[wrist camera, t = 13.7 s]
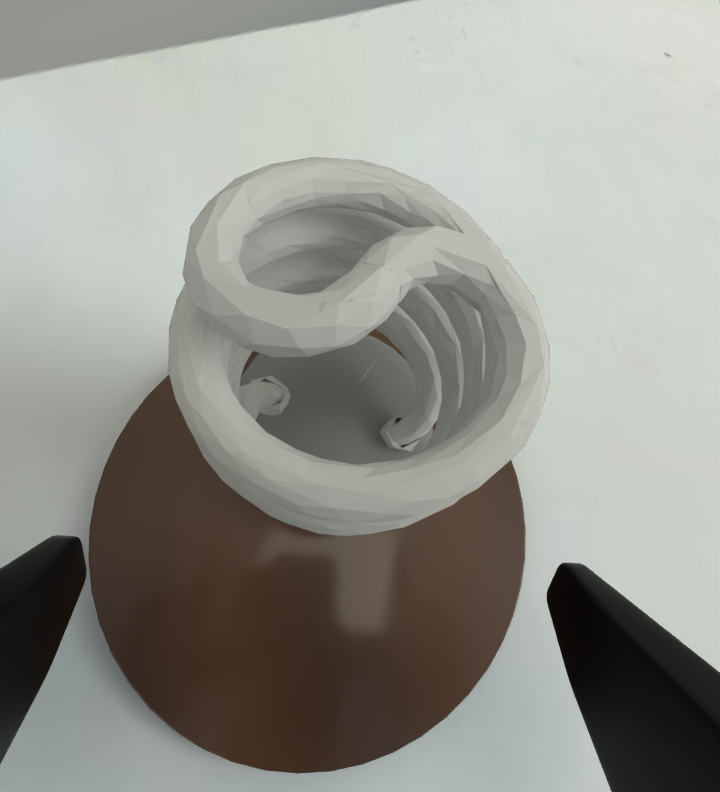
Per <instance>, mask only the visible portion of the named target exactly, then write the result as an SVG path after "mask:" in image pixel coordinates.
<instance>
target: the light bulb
mask: <svg viewBox="0 0 720 792" xmlns="http://www.w3.org/2000/svg"><path fill="white" fill-rule="evenodd" d="M183 277H184V280H185V283H186V284H185V285H184V287H183V289H182V291H181V293H180V294H179V296H178V298H177V301H176V304H175V308H174V311H173V315H172V319H171V323H170V327H169V365H168V372H169V376H170V380H171V384H172V387H173V391H174V395H175V399H176V402H177V404H178V406H179V408H180V410H181V412H182V414H183V416H184V419H185V421H186V423H187V425H188V427H189V429H190V431H191V433H192V434H193V436H194V438H195V440H196V442H197V444H198V446H199V448H200V451H201V453H202V455H203V457H204V458H205V459H206V461H207V462H208V463H209V464H210V466H211V467H212V468H213V469H214V471H215V472H216V473H217V474H218V476H219V477H220V478H221V479H222V481H224V482H225V483H226V484H227V485H229V486H230V487H231V488H232V489H233V490H235V491H236V492H237V493H238V494H240V495H241V496H242V497H243V498H245V499H246V500H248V501H249V502H251V503H252V504H254V505H255V506H257V507H258V508H259V509H261V510H262V511H263V512H265V513H266V514H268V515H269V516H271V517H273V518H276V519H278V520H280V521H282V522H285V523H287V524H290V525H293V526H296V527H299V528H302V529H305V530H309V531H312V532H315V533H319V534H329V535H339V536H351V535H363V534H372V533H377V532H382V531H387V530H392V529H398V528H404V527H406V526H408V525H410V524H413V523H415V522H417V521H419V520H421V519H423V518H426V517H428V516H430V515H432V514H434V513H436V512H439V511H441V510H443V509H445V508H447V507H449V506H451V505H453V504H455V503H456V502H457V501H458V500H459V499H460V498H462V497H463V496H465V495H467V494H469V493H471V492H473V491H474V490H476V489H478V488H479V487H480V486H481V485H482V484H484V483H485V482H486V481H487V480H488V479H489V478H491V477H492V476H493V475H494V474H495V473H496V472H497V471H499V470H500V469H501V468H502V467H503V466H504V465H506V464H507V463H508V462H509V461H510V460H511V459H512V458H513V457H514V456H515V455H516V454H517V453H518V452H519V451H520V450H521V449H522V448H523V447H524V446H525V445H526V443H527V441H528V439H529V437H530V435H531V433H532V431H533V429H534V427H535V425H536V423H537V421H538V419H539V417H540V415H541V411H542V408H543V405H544V401H545V398H546V395H547V391H548V388H549V385H550V345H549V342H548V339H547V335H546V332H545V329H544V326H543V322H542V319H541V316H540V313H539V310H538V307H537V304H536V300H535V297H534V295H533V294H532V293H531V291H530V290H529V289H528V287H527V286H526V285H525V283H524V282H523V281H522V279H521V278H520V277H519V275H518V274H517V273H516V271H515V270H514V268H513V267H512V266H511V264H510V263H509V262H508V261H507V260H506V259H504V257H503V255H502V253H501V251H500V249H499V248H498V247H497V246H496V244H495V243H494V242H493V241H492V240H491V239H490V238H489V237H488V236H487V234H486V233H485V232H484V231H483V230H482V229H481V228H480V227H479V226H478V224H477V223H476V222H475V221H474V220H473V219H472V218H471V217H470V216H469V214H468V213H467V212H466V211H464V210H463V209H462V208H460V207H459V206H458V205H456V204H455V203H453V202H452V201H451V200H449V199H448V198H446V197H445V196H444V195H442V194H441V193H439V192H438V191H437V190H435V189H434V188H433V187H431V186H430V185H428V184H426V183H423V182H421V181H419V180H417V179H414V178H412V177H410V176H407V175H405V174H403V173H401V172H398V171H396V170H394V169H391V168H388V167H384V166H380V165H377V164H373V163H369V162H366V161H362V160H350V159H335V158H321V157H311V158H305V159H299V160H293V161H288V162H282V163H276V164H271V165H268V166H265V167H262V168H260V169H257V170H255V171H253V172H250V173H248V174H246V175H243V176H241V177H239V178H236V179H235V180H234V181H232V182H231V183H230V184H229V185H228V186H227V187H225V188H224V189H223V190H222V191H221V192H220V193H218V194H217V195H216V196H215V197H214V198H213V199H211V200H210V201H209V202H208V203H207V204H206V206H205V207H204V209H203V210H202V211H201V213H200V214H199V216H198V217H197V218H196V220H195V221H194V223H193V224H192V225H191V227H190V233H189V239H188V245H187V251H186V257H185V263H184V269H183ZM374 329H375V330H377V331H378V332H380V333H382V334H383V335H385V336H386V337H387V338H388V339H389V340H390V341H391V342H392V343H393V344H394V345H395V346H396V347H397V348H398V349H399V351H400V352H401V353H402V354H403V356H404V358H405V359H406V360H405V359H404V358H403V357H402V356H401V355H400V354H399V353H398V352H397V351H396V350H394V349H393V348H392V347H390V346H388V345H387V344H385V343H383V342H382V341H380V340H378V339H377V338H375V337H372V336H369V335H367V334H369V333H370V332H371V331H373V330H374ZM252 351H255V352H258V353H260V354H259V355H257V356H256V358H255V359H254V360H253V362H252V363H251V364H250V366H249V367H248V368H247V370H246V371H245V372H244V374H243V375H242V372H243V368H244V366H245V363H246V361H247V360H248V358H249V356H250V355H251V353H252ZM241 375H242V377H241ZM436 421H437V423H436V427H435V430H434V432H433V425H434V423H435V422H436Z"/></svg>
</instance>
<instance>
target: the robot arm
mask: <svg viewBox="0 0 720 792" xmlns="http://www.w3.org/2000/svg"><path fill="white" fill-rule="evenodd" d="M85 579H86V564H85V559H84V554H83V548H82V543H81V540H80V539H79V538H78V537H75V536H58V535H57V536H52V537H50V538H48V539H46V540H45V541H43V542H42V543H40V544H38V545H37V546H35V547H34V548H32V549H31V550H29V551H28V552H26V553H24V554H23V555H21V556H20V557H18V558H17V559H15V560H14V561H12V562H10V563H9V564H7V565H6V566H4V567H3V568H1V569H0V764H1V762H2V760H3V758H4V756H5V754H6V752H7V750H8V748H9V747H10V745H11V743H12V741H13V739H14V737H15V735H16V733H17V731H18V729H19V727H20V726H21V724H22V722H23V720H24V718H25V716H26V714H27V712H28V710H29V708H30V706H31V705H32V703H33V701H34V699H35V697H36V695H37V693H38V691H39V689H40V687H41V685H42V683H43V681H44V679H45V677H46V675H47V673H48V671H49V669H50V666H51V664H52V662H53V659H54V657H55V655H56V652H57V650H58V647H59V645H60V642H61V640H62V637H63V635H64V632H65V630H66V627H67V625H68V622H69V620H70V618H71V615H72V613H73V610H74V608H75V605H76V603H77V600H78V598H79V595H80V593H81V590H82V588H83V585H84V583H85ZM547 603H548V607H549V611H550V614H551V618H552V621H553V625H554V629H555V632H556V636H557V639H558V643H559V646H560V650H561V653H562V657H563V661H564V664H565V668H566V671H567V674H568V678H569V681H570V684H571V687H572V689H573V692H574V695H575V698H576V700H577V703H578V706H579V708H580V711H581V713H582V716H583V719H584V721H585V724H586V726H587V729H588V732H589V734H590V737H591V739H592V742H593V745H594V747H595V750H596V752H597V755H598V758H599V760H600V763H601V765H602V768H603V771H604V773H605V776H606V778H607V781H608V784H609V786H610V789H611V792H720V672H718V671H717V670H716V669H715V668H713V667H712V666H711V665H710V664H708V663H707V662H706V661H705V660H703V659H702V658H701V657H700V656H698V655H697V654H696V653H695V652H693V651H692V650H691V649H689V648H688V647H687V646H686V645H684V644H683V643H682V642H681V641H679V640H678V639H677V638H676V637H674V636H673V635H672V634H671V633H669V632H668V631H667V630H666V629H664V628H663V627H662V626H661V625H659V624H658V623H657V622H655V621H654V620H653V619H652V618H650V617H649V616H648V615H647V614H645V613H644V612H643V611H642V610H640V609H639V608H638V607H637V606H635V605H634V604H633V603H632V602H630V601H629V600H628V599H626V598H625V597H624V596H623V595H621V594H620V593H619V592H618V591H616V590H615V589H614V588H613V587H611V586H610V585H609V584H608V583H606V582H605V581H604V580H603V579H601V578H600V577H599V576H598V575H596V574H595V573H594V572H592V571H591V570H590V569H589V568H587V567H586V566H585V565H583V564H579V563H562V564H561V565H559V567H558V568H557V571H556V573H555V575H554V577H553V579H552V582H551V584H550V586H549V588H548V591H547Z"/></svg>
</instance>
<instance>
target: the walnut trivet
mask: <svg viewBox="0 0 720 792" xmlns="http://www.w3.org/2000/svg"><path fill="white" fill-rule="evenodd" d="M367 335H369V336H372V337H375V338H377V339H378V340H380V341H382V342H383V343H385V344H387V345H388V346H390V347H392V348H393V349H394V350H396V351H397V352H398V353H399V354H400V355H401V356H402V357H403V358H404V356H403V354H402V353H401V352H400V351H399V349H398V348H397V347H396V346H395V345H394V344H393V343H392V342H391V341H390V340H389V339H388V338H387V337H386V336H385V335H383V334H382V333H380V332H378V331H377V330H375V329H374V330H373V331H371V332H370V333H369V334H367ZM259 354H260V353H258V352H255V351H252V353H251V355H250V356H249V358H248V360H247V361H246V363H245V366H244V368H243V372H242V375H243V374H244V372H245V371H246V370H247V368H248V367H249V366H250V364H251V363H252V362H253V360H254V359H255V358H256V356H257V355H259ZM404 359H405V358H404ZM405 360H406V359H405ZM242 375H241V377H242ZM436 423H437V421H436V422H435V423H434V425H433V432H434V430H435V427H436ZM524 561H525V521H524V511H523V502H522V498H521V493H520V489H519V484H518V480H517V475H516V473H515V470H514V467H513V464H512V461H511V460H510V461H509V462H508V463H507V464H506V465H504V466H503V467H502V468H501V469H500V470H499V471H497V472H496V473H495V474H494V475H493V476H492V477H491V478H489V479H488V480H487V481H486V482H485V483H484V484H482V485H481V486H480V487H479V488H478V489H476V490H474V491H473V492H471V493H469V494H467V495H465V496H463V497H462V498H460V499H459V500H458V501H457V502H456V503H455V504H453V505H451V506H449V507H447V508H445V509H443V510H441V511H439V512H436V513H434V514H432V515H430V516H428V517H426V518H423V519H421V520H419V521H417V522H415V523H413V524H410V525H408V526H406V527H404V528H398V529H392V530H387V531H382V532H377V533H372V534H363V535H351V536H339V535H329V534H319V533H315V532H312V531H309V530H305V529H302V528H299V527H296V526H293V525H290V524H287V523H285V522H282V521H280V520H278V519H276V518H273V517H271V516H269V515H268V514H266V513H265V512H263V511H262V510H261V509H259V508H258V507H257V506H255V505H254V504H252V503H251V502H249V501H248V500H246V499H245V498H243V497H242V496H241V495H240V494H238V493H237V492H236V491H235V490H233V489H232V488H231V487H230V486H229V485H227V484H226V483H225V482H224V481H222V479H221V478H220V477H219V476H218V474H217V473H216V472H215V471H214V469H213V468H212V467H211V466H210V464H209V463H208V462H207V461H206V459H205V458H204V457H203V455H202V453H201V451H200V448H199V446H198V444H197V442H196V440H195V438H194V436H193V434H192V433H191V431H190V429H189V427H188V425H187V423H186V421H185V419H184V416H183V414H182V412H181V410H180V408H179V406H178V404H177V402H176V399H175V395H174V391H173V387H172V384H171V380H170V376H169V375H168V376H167V377H166V378H165V379H164V380H163V381H162V382H161V383H160V384H159V385H158V386H157V387H156V388H155V389H154V390H153V391H152V392H151V393H150V394H149V395H148V396H147V398H146V399H145V400H144V401H143V403H142V404H141V405H140V406H139V408H138V409H137V410H136V411H135V413H134V414H133V415H132V417H131V418H130V420H129V421H128V423H127V425H126V426H125V428H124V430H123V431H122V433H121V434H120V436H119V438H118V439H117V441H116V443H115V445H114V448H113V450H112V452H111V454H110V456H109V458H108V461H107V463H106V465H105V467H104V470H103V474H102V477H101V480H100V483H99V486H98V490H97V493H96V496H95V501H94V507H93V512H92V518H91V524H90V537H89V569H90V579H91V589H92V595H93V599H94V603H95V607H96V611H97V615H98V619H99V623H100V626H101V628H102V631H103V633H104V636H105V638H106V641H107V643H108V646H109V648H110V651H111V653H112V655H113V657H114V659H115V660H116V662H117V664H118V665H119V667H120V669H121V671H122V672H123V674H124V676H125V677H126V679H127V681H128V682H129V684H130V685H131V686H132V687H133V689H134V690H135V691H136V692H137V693H138V695H139V696H140V697H141V698H142V700H143V701H144V702H145V703H146V705H147V706H148V707H149V708H150V709H151V710H152V711H153V712H154V713H155V714H156V715H158V716H159V717H160V718H161V719H162V720H163V721H164V722H165V723H167V724H168V725H169V726H170V727H171V728H172V729H173V730H174V731H176V732H177V733H179V734H181V735H182V736H184V737H185V738H187V739H188V740H190V741H191V742H193V743H194V744H196V745H198V746H199V747H201V748H202V749H204V750H207V751H209V752H211V753H214V754H216V755H218V756H220V757H223V758H225V759H227V760H230V761H232V762H235V763H239V764H243V765H247V766H251V767H254V768H258V769H262V770H268V771H279V772H289V773H311V772H326V771H334V770H338V769H343V768H347V767H352V766H356V765H361V764H364V763H367V762H370V761H372V760H375V759H377V758H380V757H382V756H385V755H388V754H390V753H393V752H395V751H397V750H398V749H400V748H402V747H404V746H405V745H407V744H409V743H411V742H412V741H414V740H416V739H418V738H419V737H421V736H423V735H424V734H425V733H426V732H428V731H429V730H430V729H432V728H433V727H434V726H435V725H437V724H438V723H439V722H441V721H442V720H443V719H445V718H446V717H447V716H448V715H449V714H450V713H451V712H452V711H453V710H454V709H455V708H456V707H457V706H458V705H459V704H460V703H461V702H462V701H463V700H464V699H465V698H466V697H467V696H468V695H469V693H470V692H471V691H472V689H473V688H474V687H475V685H476V684H477V683H478V681H479V680H480V679H481V677H482V676H483V675H484V673H485V672H486V670H487V669H488V667H489V666H490V664H491V662H492V660H493V658H494V657H495V655H496V653H497V651H498V649H499V648H500V646H501V644H502V642H503V640H504V637H505V635H506V632H507V630H508V627H509V625H510V622H511V620H512V617H513V615H514V611H515V607H516V604H517V600H518V596H519V592H520V588H521V583H522V576H523V568H524Z"/></svg>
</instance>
